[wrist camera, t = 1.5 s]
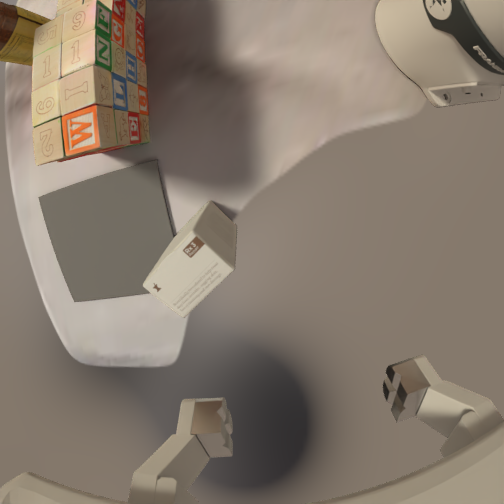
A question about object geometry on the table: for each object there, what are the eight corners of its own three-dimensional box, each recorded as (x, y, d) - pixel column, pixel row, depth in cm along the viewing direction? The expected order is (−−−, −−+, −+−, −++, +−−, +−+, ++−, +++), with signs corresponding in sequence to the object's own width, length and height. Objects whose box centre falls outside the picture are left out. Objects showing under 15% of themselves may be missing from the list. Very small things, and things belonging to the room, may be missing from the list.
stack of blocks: (99, -3, 19) (50, -43, 8) (147, -18, 19) (111, -70, 8) (101, 154, 27) (33, 168, 16) (152, 143, 27) (99, 148, 16)
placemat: (156, 159, 28) (155, 159, 27) (187, 286, 33) (186, 287, 33) (40, 196, 28) (38, 197, 28) (75, 300, 34) (74, 301, 33)
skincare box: (202, 261, 32) (184, 325, 21) (172, 235, 31) (138, 288, 20) (240, 223, 31) (240, 273, 20) (209, 195, 30) (191, 230, 18)
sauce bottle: (33, 36, 19) (-71, 11, 1) (69, 17, 20) (-34, -30, 1) (30, 77, 22) (-87, 69, 4) (66, 58, 22) (-55, 27, 4)
